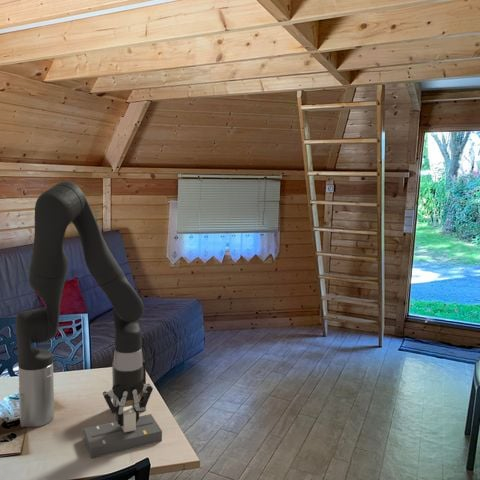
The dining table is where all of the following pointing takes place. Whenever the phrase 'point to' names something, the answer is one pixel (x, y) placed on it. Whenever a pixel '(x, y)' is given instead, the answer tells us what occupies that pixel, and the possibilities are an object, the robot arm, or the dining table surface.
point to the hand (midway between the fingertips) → (128, 423)
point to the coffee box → (129, 402)
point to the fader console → (121, 436)
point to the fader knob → (129, 419)
